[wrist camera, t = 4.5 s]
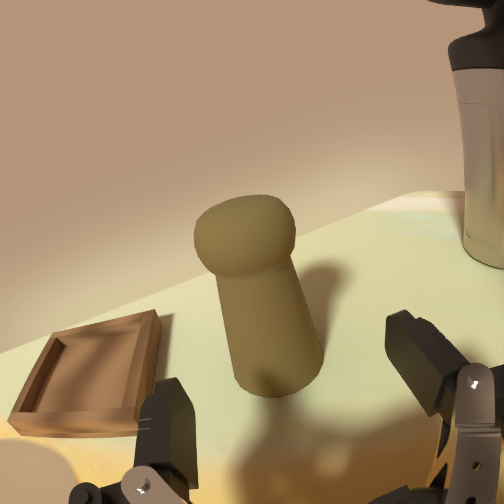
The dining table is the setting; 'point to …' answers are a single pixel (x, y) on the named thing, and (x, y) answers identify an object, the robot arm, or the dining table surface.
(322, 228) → the dining table surface
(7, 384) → the dining table surface
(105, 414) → the tray
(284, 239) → the olive pepper mill
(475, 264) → the dining table surface
